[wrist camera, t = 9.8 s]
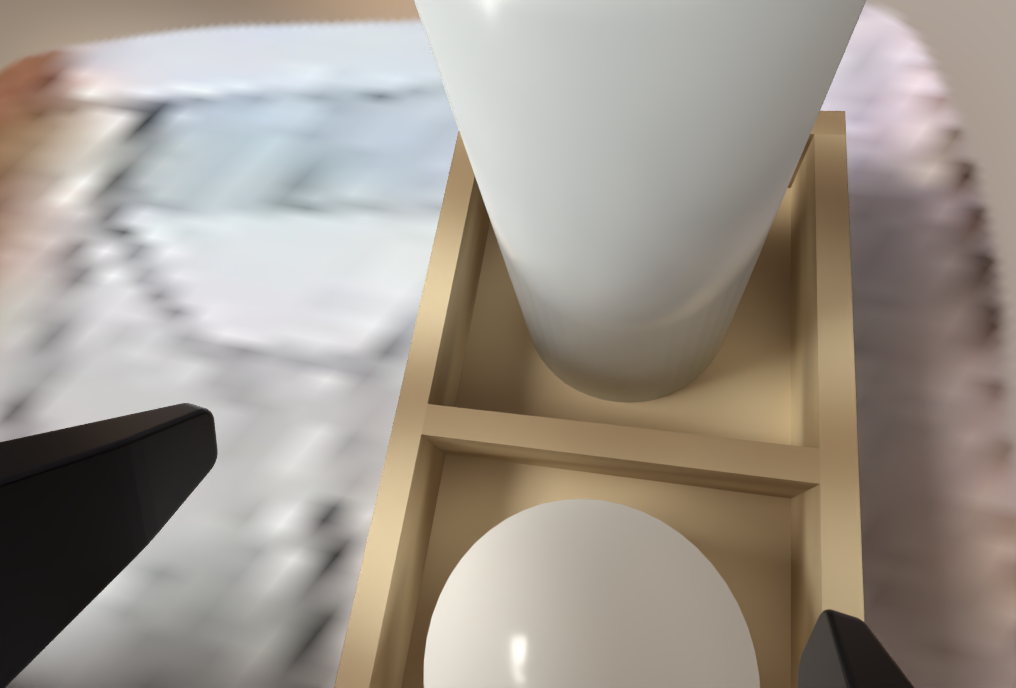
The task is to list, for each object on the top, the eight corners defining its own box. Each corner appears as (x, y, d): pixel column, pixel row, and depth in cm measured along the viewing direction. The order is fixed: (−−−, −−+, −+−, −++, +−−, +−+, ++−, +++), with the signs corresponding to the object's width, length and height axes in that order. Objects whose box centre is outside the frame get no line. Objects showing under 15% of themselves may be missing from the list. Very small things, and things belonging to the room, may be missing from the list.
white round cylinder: (719, 833, 14) (757, 921, 10) (445, 768, 15) (392, 826, 11) (729, 537, 16) (763, 522, 12) (489, 502, 17) (455, 479, 14)
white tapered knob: (726, 412, 17) (970, 9, 5) (514, 392, 18) (321, 27, 6) (731, 225, 19) (915, -371, 7) (540, 218, 20) (430, -302, 9)
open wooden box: (815, 946, 14) (881, 1064, 10) (357, 826, 16) (288, 890, 13) (807, 189, 21) (845, 111, 17) (486, 178, 23) (464, 106, 19)
